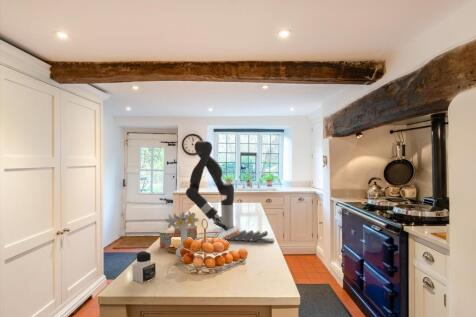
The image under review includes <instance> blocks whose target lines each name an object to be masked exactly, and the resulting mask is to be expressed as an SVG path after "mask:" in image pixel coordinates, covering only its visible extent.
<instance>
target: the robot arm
mask: <svg viewBox="0 0 476 317" xmlns="http://www.w3.org/2000/svg"><path fill="white" fill-rule="evenodd" d="M194 150H195V153H196V154H197V156H198V157H199V161H198V162H197V164H196V165H195V166H194V168H193V169H192V172H191V174H190V179H189V187H188V188H187V189H186V190H185V194H186V197H187V198H188V199H189V200H190V201H192V202H193V203H194V204H195V205H196V206H197V208H198V209H199V210H200V211H201V212H202V213H203V214H204V216H205V217H206V218H207V219H208V220H212V221H213V224H214V225H215V226H217V227H220V228H222V230H224V231H225V232H226V231H228V230H229V229H230V228H233V227H234V200H235V198H234V197H235V186H234V184H233V183H225V182H224V181H223V179H222V177H223V168H222V167H221V165H220V163H219V162H218V161H217V160H215V158H213V157H212V156H211V153H212V150H213V145H212V143H211V142H210V141H205V140H198V141H196V142H195V143H194ZM205 168H206V170H207V172H208V173H209V175H210V176H211V179H212V180H213V182H214V184H215V186H216V189H217V191H218V193H219V194H220V195H221V196H225V197H226V198H225V199H222V200H221V202H220V208H221V209H220V214H221V216H220V215H218V210H217V209H216V208H215V207H214V206H213V204H211V203H210V202H209V201H208V200H207V199H206V198H205V197H204V196H202V195H201V194H200V193H199V191H200V183H201V181H202V177H203V173H204V169H205Z"/></svg>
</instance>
